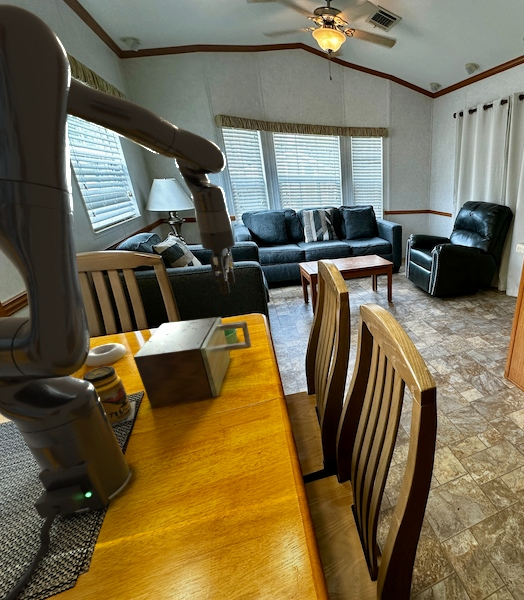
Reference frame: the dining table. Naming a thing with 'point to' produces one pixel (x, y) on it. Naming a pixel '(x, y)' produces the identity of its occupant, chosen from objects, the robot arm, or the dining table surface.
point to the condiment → (111, 394)
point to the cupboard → (175, 363)
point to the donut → (105, 354)
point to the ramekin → (231, 336)
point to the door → (220, 351)
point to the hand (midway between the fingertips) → (228, 288)
